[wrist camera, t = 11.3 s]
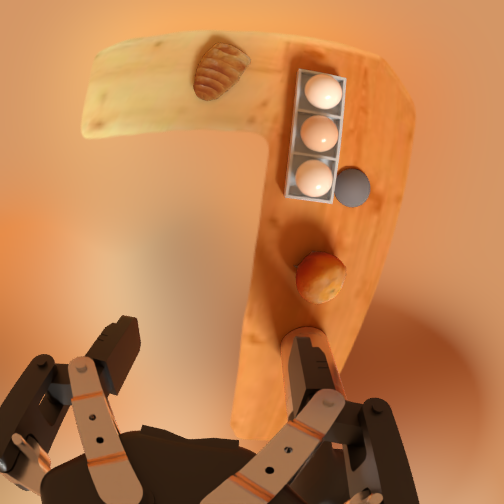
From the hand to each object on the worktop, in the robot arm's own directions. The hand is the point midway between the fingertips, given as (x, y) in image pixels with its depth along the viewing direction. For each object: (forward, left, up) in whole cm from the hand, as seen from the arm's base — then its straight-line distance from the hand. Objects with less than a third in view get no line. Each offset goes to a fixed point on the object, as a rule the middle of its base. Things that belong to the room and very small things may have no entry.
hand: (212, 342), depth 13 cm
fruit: (-8, -13, -30) cm, 34 cm away
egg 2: (+7, -10, -27) cm, 29 cm away
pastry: (+22, +5, -31) cm, 38 cm away
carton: (+13, -10, -30) cm, 34 cm away
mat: (+6, -17, -30) cm, 35 cm away
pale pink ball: (+13, -10, -27) cm, 31 cm away
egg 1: (+19, -10, -27) cm, 34 cm away
